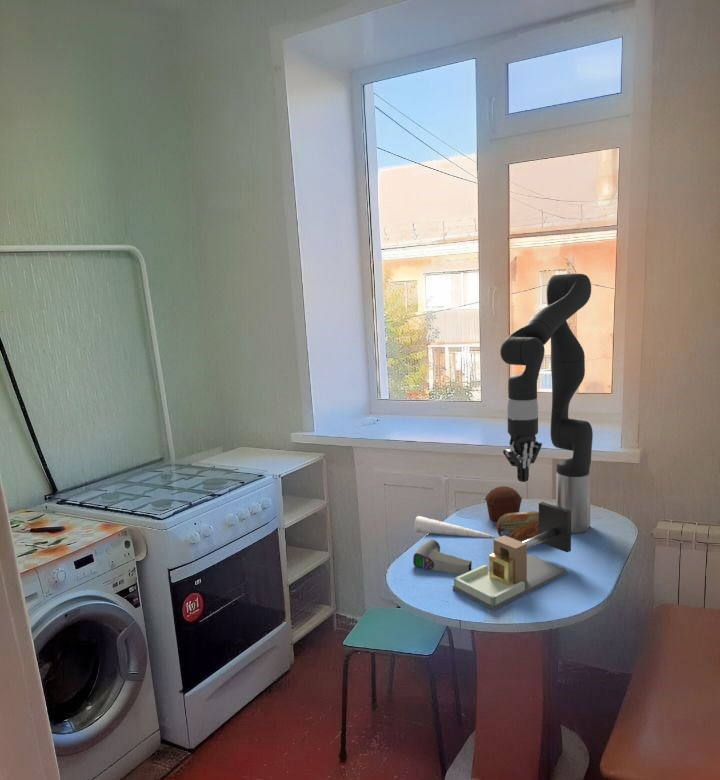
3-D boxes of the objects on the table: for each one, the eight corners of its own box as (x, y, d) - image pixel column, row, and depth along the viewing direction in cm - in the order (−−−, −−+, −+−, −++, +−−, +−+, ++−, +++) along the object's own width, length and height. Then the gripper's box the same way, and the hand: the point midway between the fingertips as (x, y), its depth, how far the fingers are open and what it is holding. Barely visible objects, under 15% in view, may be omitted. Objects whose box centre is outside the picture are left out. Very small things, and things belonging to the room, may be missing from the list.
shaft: (542, 540, 164) (542, 501, 162) (570, 550, 157) (571, 510, 155) (494, 561, 153) (494, 520, 151) (523, 573, 146) (523, 530, 144)
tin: (498, 544, 172) (498, 516, 171) (495, 539, 176) (495, 512, 174) (550, 540, 173) (550, 513, 172) (546, 536, 176) (546, 509, 175)
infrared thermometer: (467, 581, 155) (411, 569, 160) (477, 560, 166) (424, 550, 171) (468, 564, 154) (412, 553, 159) (478, 545, 165) (425, 535, 170)
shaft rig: (525, 556, 164) (525, 519, 162) (566, 573, 153) (567, 534, 151) (452, 589, 148) (451, 549, 146) (493, 610, 137) (492, 567, 136)
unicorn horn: (491, 543, 174) (491, 527, 173) (412, 534, 183) (412, 519, 182) (494, 537, 178) (494, 521, 177) (417, 528, 188) (417, 513, 187)
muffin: (498, 509, 199) (497, 480, 197) (528, 516, 191) (528, 486, 190) (478, 520, 191) (477, 490, 189) (509, 528, 183) (509, 497, 181)
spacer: (494, 574, 151) (494, 552, 150) (513, 583, 146) (513, 560, 146) (489, 577, 150) (489, 554, 149) (508, 586, 145) (508, 563, 144)
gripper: (527, 409, 159) (527, 472, 162) (493, 417, 152) (494, 483, 155) (551, 413, 153) (551, 478, 156) (517, 422, 146) (517, 490, 149)
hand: (523, 480), depth 156 cm, fingers closed
